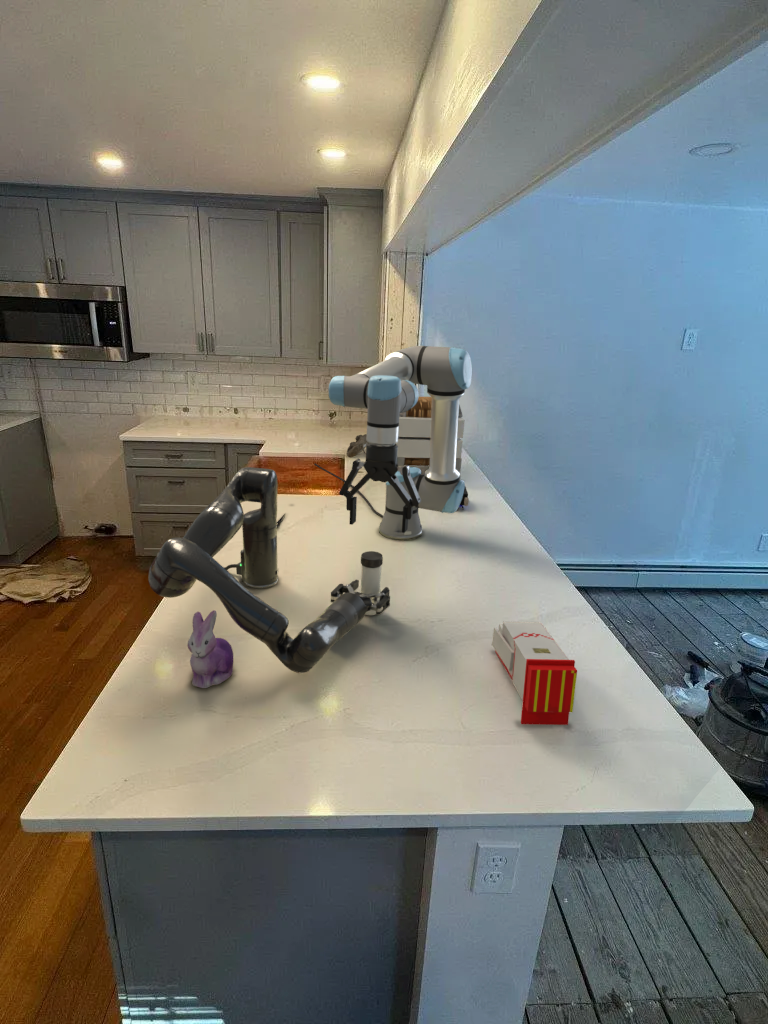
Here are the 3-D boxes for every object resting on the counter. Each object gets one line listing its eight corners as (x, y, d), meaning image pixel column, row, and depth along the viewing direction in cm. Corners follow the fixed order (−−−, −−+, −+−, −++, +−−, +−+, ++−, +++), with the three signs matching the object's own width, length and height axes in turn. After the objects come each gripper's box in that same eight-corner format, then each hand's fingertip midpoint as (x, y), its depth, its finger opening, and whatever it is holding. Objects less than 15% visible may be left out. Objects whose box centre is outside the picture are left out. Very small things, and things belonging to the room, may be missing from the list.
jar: (383, 610, 149) (385, 557, 144) (370, 617, 145) (372, 563, 140) (369, 603, 152) (371, 551, 147) (356, 610, 148) (357, 556, 143)
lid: (386, 563, 144) (387, 555, 144) (372, 570, 140) (372, 562, 140) (370, 557, 148) (371, 549, 147) (356, 563, 144) (356, 555, 143)
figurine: (194, 695, 113) (188, 630, 108) (185, 667, 122) (179, 606, 117) (241, 683, 118) (238, 620, 112) (229, 657, 126) (226, 597, 121)
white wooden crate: (382, 463, 289) (386, 382, 275) (445, 464, 293) (451, 384, 279) (390, 482, 257) (394, 392, 243) (460, 483, 261) (468, 394, 247)
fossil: (346, 440, 316) (367, 425, 311) (357, 453, 319) (378, 438, 314) (340, 453, 296) (362, 438, 291) (351, 468, 299) (374, 452, 294)
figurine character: (468, 514, 225) (463, 498, 239) (470, 497, 222) (465, 482, 235) (451, 514, 225) (447, 498, 238) (453, 497, 222) (449, 481, 235)
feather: (292, 507, 224) (294, 503, 223) (275, 531, 197) (278, 527, 197) (288, 505, 224) (291, 501, 223) (271, 528, 197) (273, 524, 197)
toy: (538, 606, 134) (586, 666, 105) (533, 659, 137) (578, 731, 108) (487, 605, 134) (521, 665, 105) (483, 658, 137) (515, 730, 107)
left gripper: (316, 621, 137) (347, 593, 151) (369, 636, 132) (396, 606, 146) (316, 593, 135) (348, 567, 149) (371, 607, 129) (398, 579, 143)
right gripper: (437, 445, 134) (430, 529, 141) (338, 434, 141) (337, 514, 148) (429, 452, 127) (423, 539, 134) (327, 440, 134) (326, 524, 141)
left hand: (372, 586), depth 147 cm, fingers open, 8 cm apart
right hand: (378, 526), depth 141 cm, fingers open, 13 cm apart
